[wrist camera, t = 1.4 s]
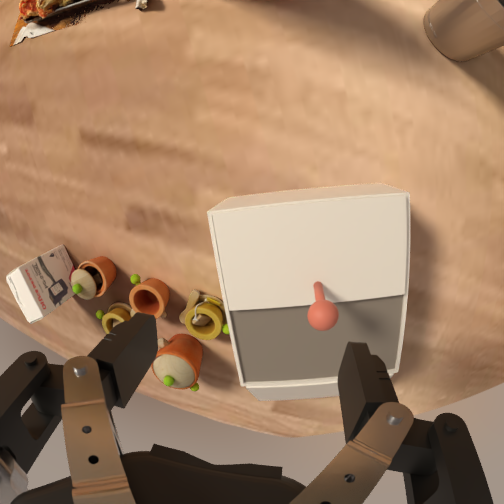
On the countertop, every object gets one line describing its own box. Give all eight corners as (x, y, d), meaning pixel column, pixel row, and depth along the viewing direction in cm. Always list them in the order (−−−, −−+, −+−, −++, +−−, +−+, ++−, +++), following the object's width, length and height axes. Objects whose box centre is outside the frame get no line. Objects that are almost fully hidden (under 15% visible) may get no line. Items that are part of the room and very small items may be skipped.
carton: (381, 182, 36) (409, 192, 26) (376, 374, 45) (389, 416, 35) (227, 197, 39) (206, 211, 30) (258, 384, 48) (250, 428, 38)
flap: (404, 194, 26) (439, 209, 19) (403, 292, 30) (429, 330, 22) (213, 213, 29) (187, 232, 22) (230, 308, 32) (213, 350, 25)
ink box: (85, 287, 46) (44, 319, 35) (69, 294, 48) (29, 325, 36) (64, 242, 44) (17, 266, 33) (48, 252, 46) (4, 276, 34)
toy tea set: (243, 302, 44) (231, 339, 35) (213, 374, 49) (199, 414, 40) (91, 238, 44) (53, 257, 35) (83, 314, 49) (53, 341, 40)
